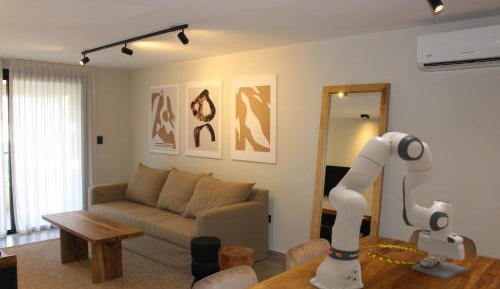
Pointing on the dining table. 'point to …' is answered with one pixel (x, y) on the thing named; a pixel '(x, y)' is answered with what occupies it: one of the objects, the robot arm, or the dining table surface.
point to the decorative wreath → (391, 257)
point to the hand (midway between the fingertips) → (439, 264)
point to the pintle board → (440, 269)
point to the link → (428, 262)
